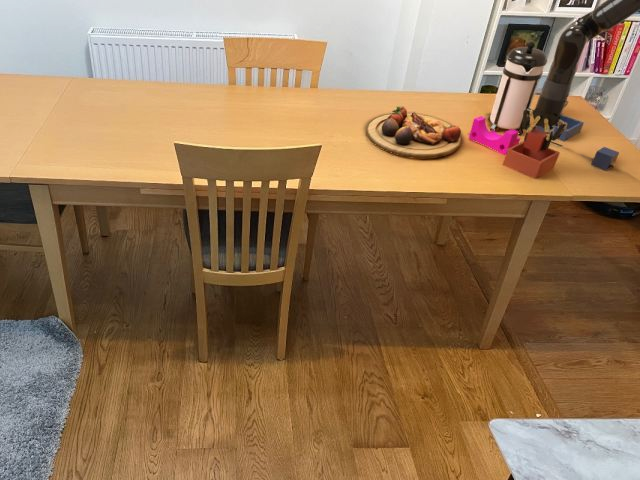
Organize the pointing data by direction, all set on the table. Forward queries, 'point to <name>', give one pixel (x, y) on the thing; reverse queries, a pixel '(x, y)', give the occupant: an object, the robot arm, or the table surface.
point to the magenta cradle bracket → (493, 136)
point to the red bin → (530, 160)
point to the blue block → (605, 158)
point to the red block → (535, 140)
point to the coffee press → (517, 87)
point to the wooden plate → (414, 135)
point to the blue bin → (573, 128)
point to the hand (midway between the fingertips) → (535, 146)
